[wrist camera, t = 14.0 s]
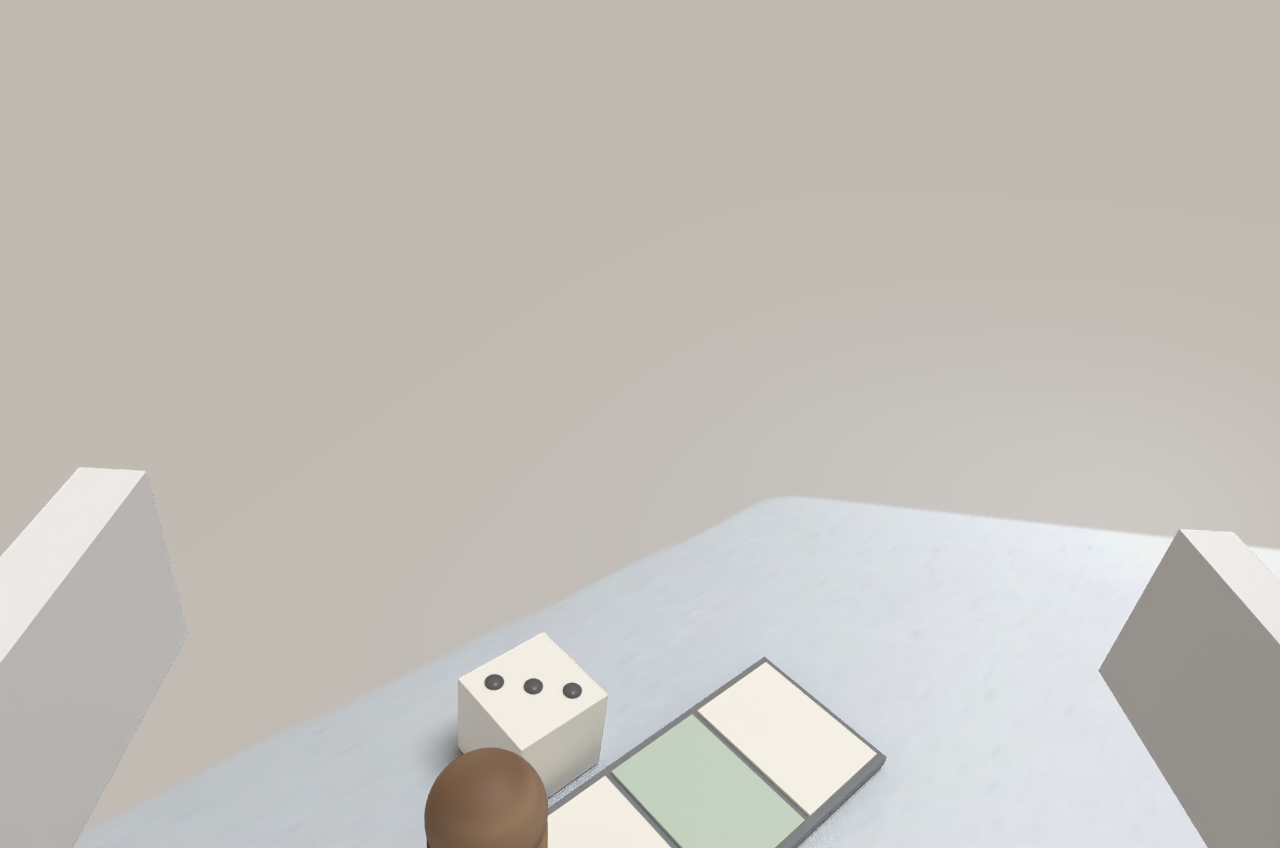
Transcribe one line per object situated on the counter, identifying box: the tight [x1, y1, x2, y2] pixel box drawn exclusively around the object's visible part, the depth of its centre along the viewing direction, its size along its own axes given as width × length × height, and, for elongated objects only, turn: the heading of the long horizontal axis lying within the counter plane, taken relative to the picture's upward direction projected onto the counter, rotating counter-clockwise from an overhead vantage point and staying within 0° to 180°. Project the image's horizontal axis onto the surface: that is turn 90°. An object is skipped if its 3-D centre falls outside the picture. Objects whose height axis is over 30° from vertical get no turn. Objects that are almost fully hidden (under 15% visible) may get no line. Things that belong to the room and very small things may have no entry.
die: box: [458, 632, 608, 798], centre depth 41 cm, size 5×5×5 cm
